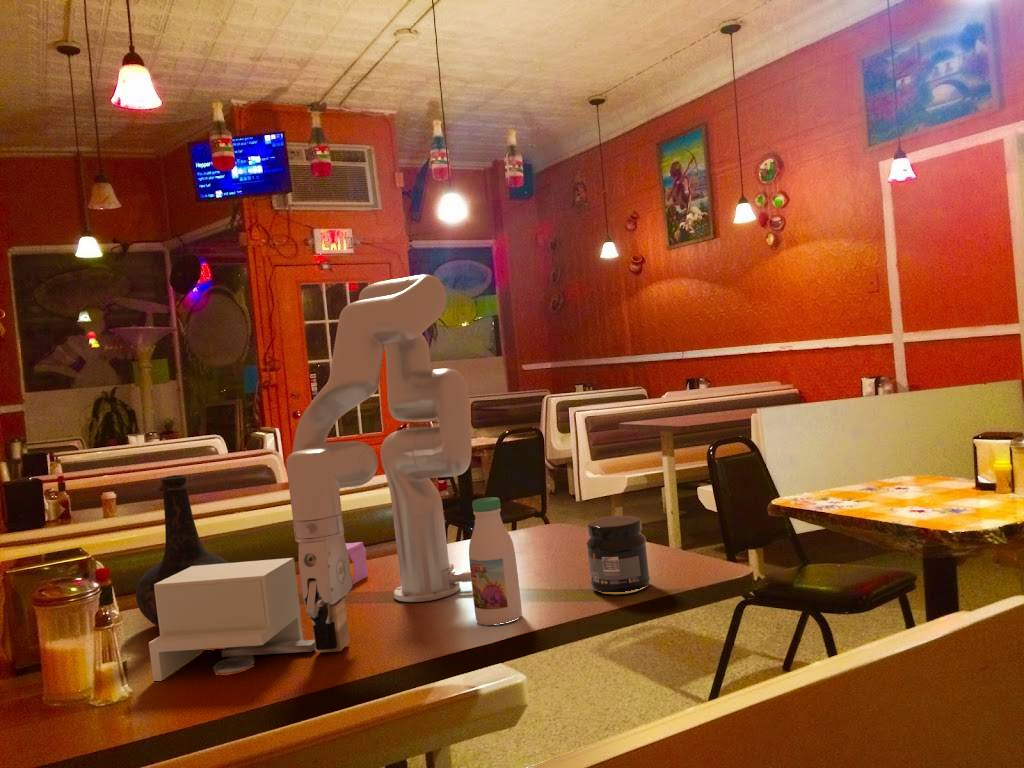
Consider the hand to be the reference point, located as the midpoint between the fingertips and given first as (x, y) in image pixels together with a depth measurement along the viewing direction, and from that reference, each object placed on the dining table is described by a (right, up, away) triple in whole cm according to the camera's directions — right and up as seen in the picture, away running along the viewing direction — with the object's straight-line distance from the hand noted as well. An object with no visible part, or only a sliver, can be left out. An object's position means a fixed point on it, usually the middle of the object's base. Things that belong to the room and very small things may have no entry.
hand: (332, 642), depth 126 cm
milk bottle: (+26, +1, +6) cm, 27 cm away
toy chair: (-8, -2, +46) cm, 46 cm away
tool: (-8, -2, +1) cm, 8 cm away
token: (-14, -3, -3) cm, 15 cm away
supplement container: (+48, +4, +17) cm, 51 cm away
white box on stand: (-16, -3, 0) cm, 16 cm away
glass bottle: (-32, -5, +26) cm, 42 cm away
